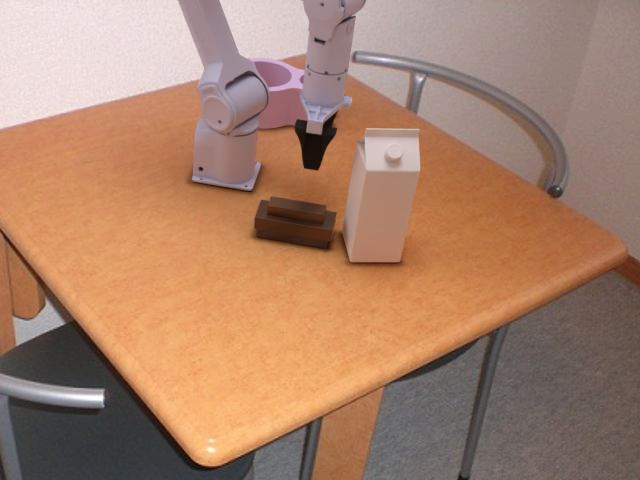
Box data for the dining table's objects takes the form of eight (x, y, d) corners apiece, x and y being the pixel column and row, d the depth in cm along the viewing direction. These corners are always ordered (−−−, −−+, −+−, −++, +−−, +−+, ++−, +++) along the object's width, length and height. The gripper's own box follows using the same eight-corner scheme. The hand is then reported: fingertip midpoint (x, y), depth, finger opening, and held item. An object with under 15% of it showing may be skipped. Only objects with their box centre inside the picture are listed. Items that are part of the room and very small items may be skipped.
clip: (334, 103, 158) (340, 67, 154) (329, 137, 149) (334, 100, 144) (225, 89, 160) (226, 53, 155) (212, 122, 150) (214, 84, 146)
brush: (253, 237, 126) (255, 207, 122) (259, 219, 129) (261, 190, 126) (329, 250, 124) (334, 220, 121) (333, 232, 128) (338, 202, 125)
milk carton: (341, 233, 128) (360, 115, 116) (389, 233, 129) (413, 115, 116) (349, 263, 122) (371, 142, 110) (399, 263, 123) (426, 143, 111)
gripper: (350, 94, 111) (336, 185, 120) (362, 47, 122) (348, 134, 131) (295, 86, 112) (285, 177, 121) (312, 40, 123) (301, 127, 132)
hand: (315, 154), depth 126 cm, fingers open, 7 cm apart
